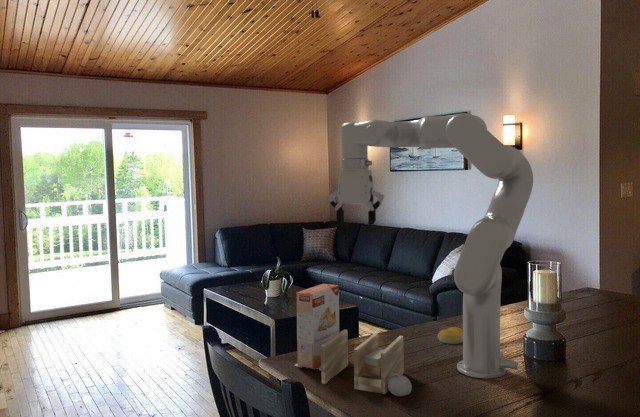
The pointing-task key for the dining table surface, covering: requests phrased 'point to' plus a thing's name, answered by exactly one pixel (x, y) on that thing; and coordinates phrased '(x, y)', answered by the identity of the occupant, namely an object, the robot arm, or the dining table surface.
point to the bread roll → (451, 335)
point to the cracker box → (316, 322)
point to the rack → (361, 361)
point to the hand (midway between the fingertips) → (356, 223)
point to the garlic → (399, 385)
